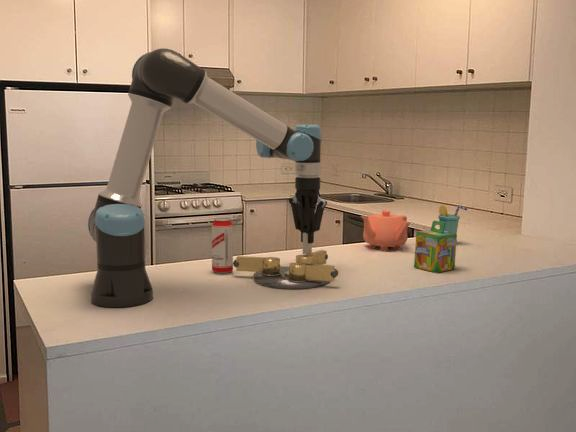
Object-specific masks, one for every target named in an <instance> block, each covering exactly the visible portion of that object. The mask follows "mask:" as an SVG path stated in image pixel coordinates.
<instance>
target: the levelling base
mask: <svg viewBox="0 0 576 432" xmlns="http://www.w3.org/2000/svg"><path fill="white" fill-rule="evenodd" d="M253 282H254V283H256V284H257V285H259V286H262V287H267V288H271V289H276V290H290V291H292V290H297V291H298V290H311V289H315V288H320V287H323V286H326V285H328V284H330V282H331V281H322V280H309V279H307V280H304V281H293V280H290V279H289V266H288V265H286V266H285V265H284V266H280V273H279V274H274V275H268V274H264V273H262V272H253Z"/></svg>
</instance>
